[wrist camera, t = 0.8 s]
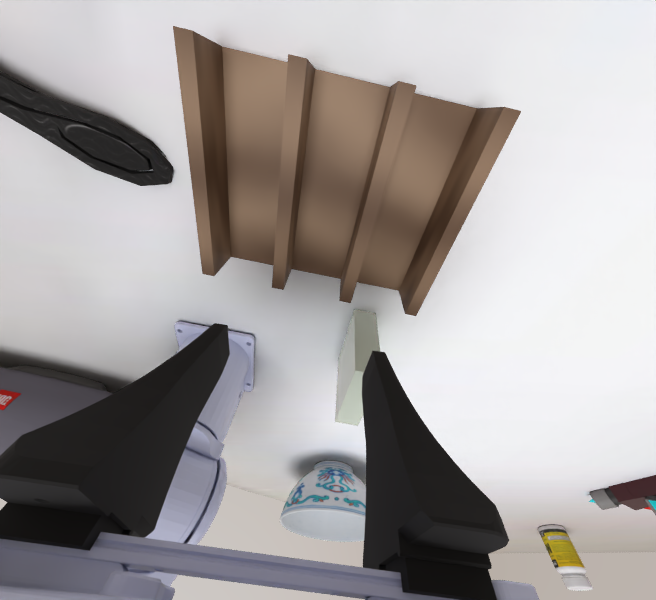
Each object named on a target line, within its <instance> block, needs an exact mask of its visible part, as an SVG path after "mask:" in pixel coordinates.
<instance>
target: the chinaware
mask: <svg viewBox="0 0 656 600" xmlns="http://www.w3.org/2000/svg"><path fill="white" fill-rule="evenodd" d="M365 509H366V486H365V485H364V484H363V482H362V481H361V480H360V479H359V478H358V477H356V476H355V475H354V474H353V469H352V468H351V467H350V466H349V465H347V464H345V463H343V462H339V461H322V462H319V463H317V464H316V465H315V466H314V470H313V471H311V472H310V473H308V474H307V475H305V476H304V477H303V478H302V479H301V480H300V481H299V482H298V483H297V484H296V486H295V487H294V488H293V490H292V491H291V493H290V495H289V497H288V499H287V501H286V503H285V506H284V508H283V511H282V514H281V518H280V523H281V525H282V526H283V527H284V528H286V529H287V530H289V531H291V532H293V533H296V534H299V535H302V536H306V537H310V538H314V539H320V540H327V541H340V542H341V541H342V542H352V541H363V540H364V534H365Z"/></svg>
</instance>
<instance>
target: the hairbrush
mask: <svg viewBox="0 0 656 600" xmlns="http://www.w3.org/2000/svg"><path fill="white" fill-rule="evenodd" d="M35 109H37V110H35ZM38 110H41V111H38ZM42 111H45V112H42ZM0 112H1V113H2V114H4V115H6V116H7V117H9V118H11V119H13V120H14V121H16V122H18V123H20V124H21V125H23V126H25V127H26V128H28V129H30V130H32V131H33V132H35V133H37V134H39V135H40V136H42V137H43V138H45V139H47V140H48V141H50V142H52V143H53V144H55V145H56V146H58V147H60V148H61V149H63V150H64V151H66V152H68V153H69V154H71V155H73V156H74V157H76V158H77V159H79V160H81V161H82V162H84V163H85V164H87V165H89V166H90V167H92V168H94V169H96V170H98V171H101V172H104V173H107V174H109V175H112V176H115V177H118V178H120V179H123V180H126V181H129V182H131V183H134V184H137V185H140V186H147V185H161V184H168V183H170V182H172V171H173V166H172V165H171V164H170V163H169V162H168V161H167V160H166V159H165V158H164V157H163V156H162V155H161V154H160V153H159V152H158V151H157V150H156V149H158V150H159V151H161V150H160V149H159V148H158V147H157V146H156V145H155V144H154V143H153V142H152V141H151V140H149V139H147V138H145V137H143V136H141V135H140V134H138V133H136V132H134V131H132V130H130V129H129V128H127V127H125V126H123V125H121V124H119V123H118V122H116V121H114V120H112V119H110V118H108V117H107V116H104V115H101V114H98V113H95V112H92V111H89V110H86V109H84V108H81V107H78V106H75V105H72V104H69V103H66V102H64V101H61V100H58V99H55V98H52V97H49V96H47V95H45V94H43V93H41V92H39V91H37V90H35V89H34V88H32V87H30V86H28V85H26V84H24V83H22V82H20V81H18V80H17V79H15V78H13V77H11V76H9V75H7V74H5V73H3V72H1V71H0ZM46 112H49V113H46ZM50 113H53V114H57V115H61V116H65V117H69V118H73V119H77V120H80V121H82V122H80V121H76V120H73V119H69V118H65V117H61V116H57V115H53V114H50ZM84 122H85V123H84ZM153 146H154V147H155V148H156V149H155V148H154V147H153ZM161 152H162V151H161ZM162 153H163V152H162ZM165 157H166V156H165ZM150 169H153V171H141V172H139V171H136V170H150Z"/></svg>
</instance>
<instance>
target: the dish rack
mask: <svg viewBox="0 0 656 600" xmlns="http://www.w3.org/2000/svg"><path fill="white" fill-rule="evenodd" d="M173 30H174V38H175V46H176V55H177V63H178V72H179V80H180V88H181V97H182V105H183V113H184V122H185V130H186V139H187V147H188V155H189V164H190V172H191V180H192V189H193V197H194V206H195V214H196V222H197V231H198V239H199V247H200V256H201V264H202V272H203V274H206V275H211V276H215V275H216V274H217V272H218V271H219V270H220V269H221V268H222V267H223V265H224V264H225V263H226V262H227V261H228V259H229V258H230V257H235V258H240V259H245V260H250V261H255V262H260V263H265V264H270V265H274V266H273V280H272V288H277V289H282V290H283V289H284V287H285V284H286V282H287V279H288V277H289V274H290V271H291V269H295V270H300V271H305V272H310V273H315V274H319V275H324V276H329V277H334V278H339V279H341V285H340V300H339V301H343V302H348V303H351V300H352V297H353V293H354V290H355V287H356V283H357V282H359V283H364V284H369V285H374V286H379V287H384V288H389V289H394V290H399V293H400V297H401V300H402V304H403V308H404V311H405V314H409V315H414V316H416V315H417V313H418V311H419V309H420V307H421V305H422V303H423V301H424V299H425V297H426V295H427V293H428V292H429V290H430V288H431V286H432V284H433V282H434V280H435V278H436V276H437V274H438V272H439V270H440V268H441V266H442V264H443V262H444V260H445V258H446V257H447V255H448V253H449V251H450V249H451V247H452V245H453V243H454V241H455V239H456V237H457V235H458V233H459V231H460V229H461V227H462V225H463V224H464V222H465V220H466V218H467V216H468V214H469V212H470V210H471V208H472V206H473V204H474V202H475V200H476V198H477V196H478V194H479V192H480V190H481V189H482V187H483V185H484V183H485V181H486V179H487V177H488V175H489V173H490V171H491V169H492V167H493V165H494V163H495V161H496V159H497V157H498V155H499V154H500V152H501V150H502V148H503V146H504V144H505V142H506V140H507V138H508V136H509V134H510V132H511V130H512V128H513V126H514V124H515V122H516V120H517V119H518V117H519V115H520V113H521V111H518V110H514V109H510V108H506V107H495V108H473V107H469V106H465V105H461V104H456V103H452V102H448V101H444V100H440V99H436V98H432V97H428V96H423V95H419V94H415V93H414V92H415V89H416V85H412V84H408V83H404V82H400V81H398V82H397V83H395V84H394V85H393V86H391V87H386V86H382V85H378V84H374V83H370V82H366V81H362V80H358V79H354V78H349V77H345V76H341V75H337V74H333V73H329V72H325V71H321V70H316V69H315V68H314V67H313V66H312V64H311V63H310V62H309V61H308V59H306V58H302V57H298V56H293V55H289V54H288V62H284V61H279V60H275V59H271V58H267V57H263V56H259V55H255V54H251V53H246V52H242V51H238V50H234V49H230V48H226V47H222V46H220V45H218V44H216V43H215V42H213V41H211V40H209V39H207V38H205V37H203V36H201V35H200V34H198V33H196V32H194V31H191V30H187V29H183V28H179V27H175V26H173Z"/></svg>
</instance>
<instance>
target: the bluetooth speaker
mask: <svg viewBox="0 0 656 600" xmlns="http://www.w3.org/2000/svg"><path fill="white" fill-rule="evenodd" d="M112 394H113V393H111V392H108V391H106V388H105V386H104V384H102V383H100V382H97V381H94V380H91V379H87V378H84V377H80V376H76V375H72V374H67V373H63V372H58V371H54V370H50V369H45V368H40V367H35V366H27V365H21V366H16V367H10V368H4V367H0V455H1V454H2V453H3V452H4V451H5V450H6V449H7V448H8V447H10V446H11V445H12V444H13V443H14V442H15V441H16V440H17V439H18V438H19V437H20V436H21V435H23V434H26V433H28V432H31V431H33V430H36V429H38V428H40V427H43V426H45V425H48V424H50V423H52V422H55V421H57V420H60V419H62V418H64V417H66V416H69V415H71V414H73V413H75V412H77V411H80V410H82V409H84V408H86V407H88V406H90V405H92V404H94V403H96V402H98V401H100V400H102V399H104V398H106V397H108V396H110V395H112Z"/></svg>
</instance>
